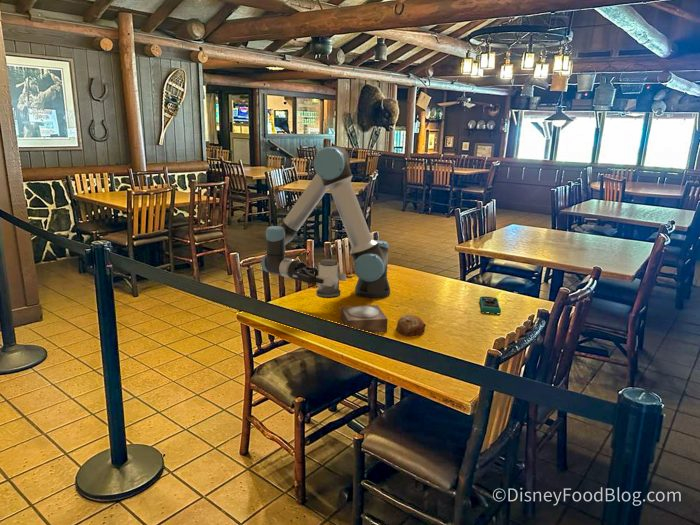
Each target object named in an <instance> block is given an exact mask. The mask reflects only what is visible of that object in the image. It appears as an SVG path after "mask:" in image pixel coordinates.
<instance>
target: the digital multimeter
mask: <svg viewBox="0 0 700 525" xmlns="http://www.w3.org/2000/svg"><path fill="white" fill-rule="evenodd" d="M478 301H480V302H479V304H481V305H480V311H482V312H489V313H502V312H501V311H502V308H501V307H500V303H499V300H498V297H494V296H482V295H481V296H480V297H479V300H478ZM482 312H481V313H482Z"/></svg>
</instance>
